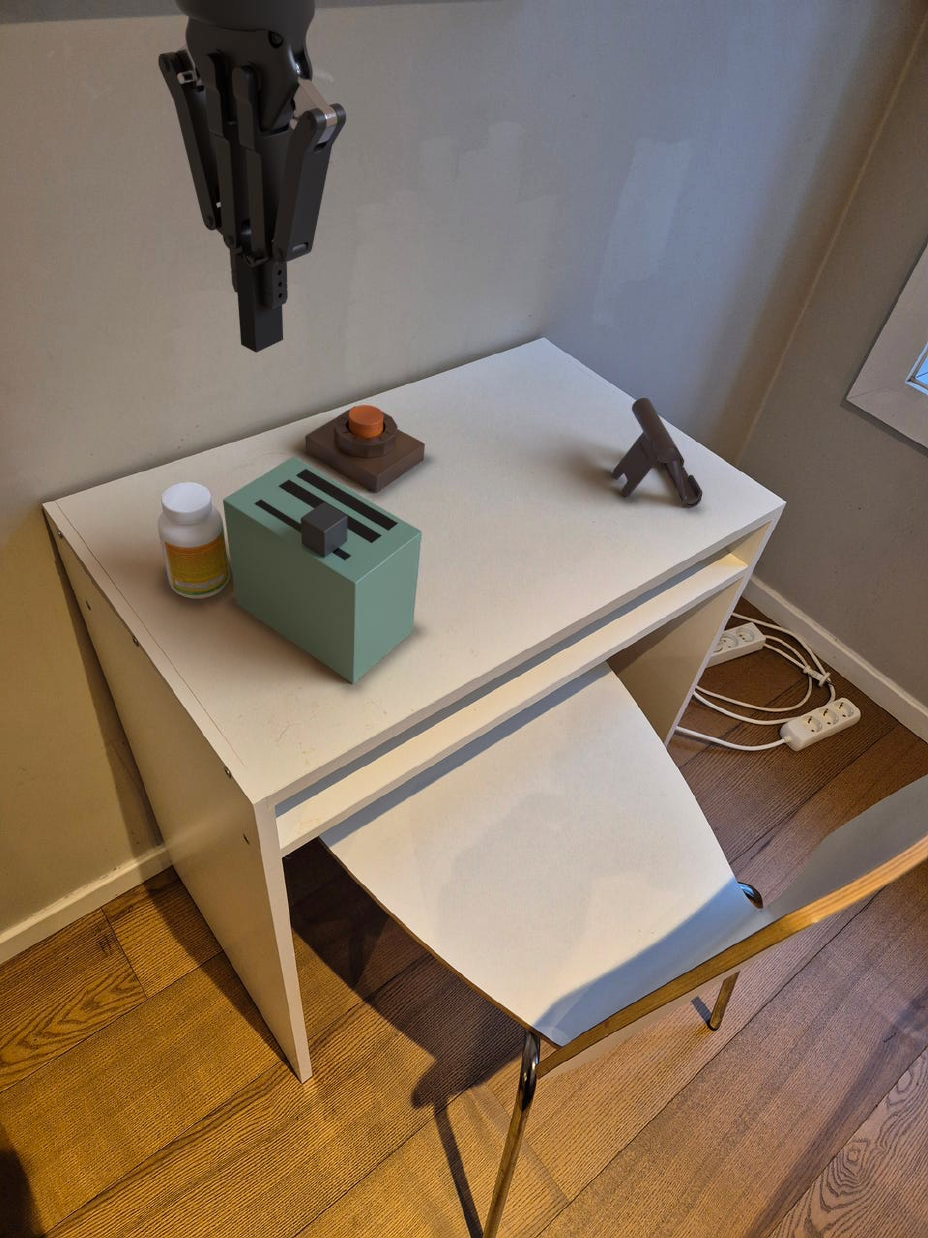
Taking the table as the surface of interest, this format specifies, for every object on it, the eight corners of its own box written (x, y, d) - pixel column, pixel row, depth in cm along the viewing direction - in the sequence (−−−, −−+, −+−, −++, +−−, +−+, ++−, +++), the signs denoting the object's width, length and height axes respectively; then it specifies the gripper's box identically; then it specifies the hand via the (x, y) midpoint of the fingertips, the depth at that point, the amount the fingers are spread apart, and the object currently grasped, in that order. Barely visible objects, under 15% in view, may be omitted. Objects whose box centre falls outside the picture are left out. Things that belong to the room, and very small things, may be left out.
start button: (341, 428, 91) (341, 414, 89) (364, 414, 93) (364, 400, 91) (367, 443, 89) (367, 428, 88) (389, 428, 92) (390, 414, 90)
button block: (305, 452, 93) (304, 421, 90) (354, 422, 98) (355, 391, 95) (376, 493, 90) (377, 462, 87) (423, 460, 94) (426, 429, 91)
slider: (301, 543, 66) (300, 517, 64) (324, 527, 67) (324, 501, 65) (324, 558, 65) (324, 532, 63) (347, 541, 66) (348, 515, 65)
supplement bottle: (240, 586, 79) (230, 503, 72) (185, 608, 76) (169, 525, 69) (213, 551, 81) (201, 469, 74) (158, 572, 79) (141, 488, 72)
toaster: (235, 603, 77) (222, 498, 68) (298, 558, 82) (293, 455, 73) (353, 684, 72) (355, 583, 64) (412, 631, 77) (422, 530, 68)
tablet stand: (698, 509, 94) (723, 445, 88) (630, 511, 92) (651, 447, 86) (671, 459, 99) (692, 397, 93) (606, 461, 98) (624, 397, 92)
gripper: (385, -49, 45) (366, 358, 62) (207, -103, 49) (235, 292, 66) (283, -39, 40) (293, 399, 57) (97, -99, 44) (157, 325, 61)
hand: (262, 341), depth 62 cm, fingers closed
